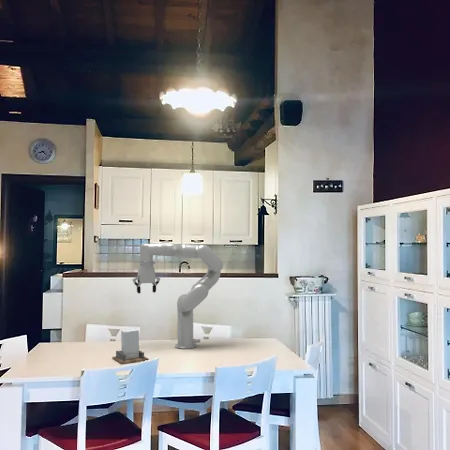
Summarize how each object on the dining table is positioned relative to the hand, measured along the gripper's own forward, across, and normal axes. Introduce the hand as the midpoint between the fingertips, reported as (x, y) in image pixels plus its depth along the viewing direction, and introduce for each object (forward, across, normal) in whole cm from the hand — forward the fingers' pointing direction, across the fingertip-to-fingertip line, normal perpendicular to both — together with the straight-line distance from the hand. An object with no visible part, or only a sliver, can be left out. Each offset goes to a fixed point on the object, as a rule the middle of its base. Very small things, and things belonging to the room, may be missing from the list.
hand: (146, 292), depth 273 cm
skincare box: (+32, +18, +20) cm, 42 cm away
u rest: (+33, +18, +20) cm, 43 cm away
